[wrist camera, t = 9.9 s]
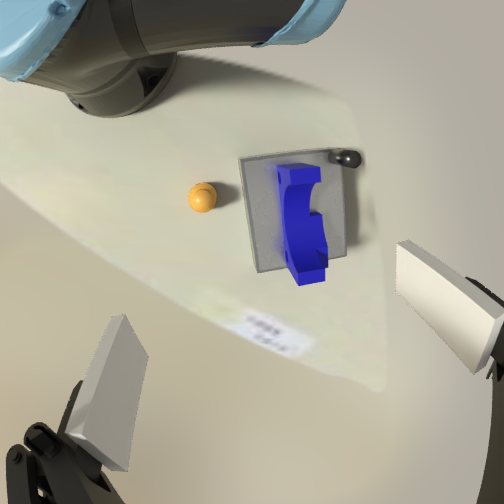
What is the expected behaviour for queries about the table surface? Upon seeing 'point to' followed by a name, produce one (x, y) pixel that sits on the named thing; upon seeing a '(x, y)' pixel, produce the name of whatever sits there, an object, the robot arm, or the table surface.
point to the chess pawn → (202, 197)
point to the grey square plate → (269, 210)
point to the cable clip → (302, 223)
